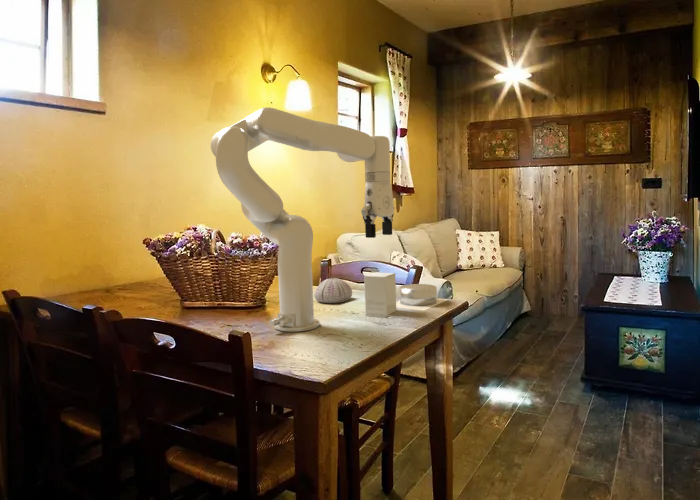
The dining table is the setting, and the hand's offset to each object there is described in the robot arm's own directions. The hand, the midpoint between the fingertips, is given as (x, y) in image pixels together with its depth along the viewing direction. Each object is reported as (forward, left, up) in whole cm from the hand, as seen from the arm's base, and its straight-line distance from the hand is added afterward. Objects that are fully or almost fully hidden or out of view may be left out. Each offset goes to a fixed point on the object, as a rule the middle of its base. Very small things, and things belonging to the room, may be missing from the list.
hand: (379, 236), depth 161 cm
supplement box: (0, 0, -24) cm, 24 cm away
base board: (+16, -4, -24) cm, 29 cm away
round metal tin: (+17, -4, -23) cm, 29 cm away
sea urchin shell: (+11, +26, -24) cm, 37 cm away
